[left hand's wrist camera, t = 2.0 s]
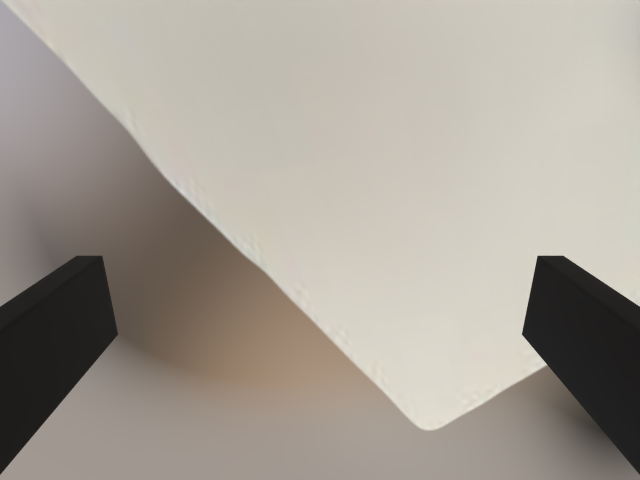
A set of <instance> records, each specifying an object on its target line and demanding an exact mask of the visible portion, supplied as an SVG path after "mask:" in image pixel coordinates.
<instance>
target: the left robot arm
mask: <svg viewBox="0 0 640 480" xmlns="http://www.w3.org/2000/svg"><path fill="white" fill-rule="evenodd" d="M117 335H118V332H117V327H116V322H115V317H114V312H113V307H112V302H111V297H110V292H109V287H108V282H107V277H106V272H105V267H104V262H103V257H102V256H76V257H74V258H73V259H71V260H70V261H68V262H67V263H65V264H64V265H62V266H61V267H59V268H58V269H56V270H55V271H53V272H52V273H50V274H49V275H47V276H46V277H44V278H43V279H41V280H40V281H38V282H37V283H35V284H34V285H32V286H31V287H29V288H28V289H26V290H25V291H23V292H22V293H20V294H19V295H17V296H16V297H14V298H13V299H11V300H10V301H8V302H7V303H5V304H4V305H2V306H1V307H0V474H1V473H2V472H3V471H4V470H5V468H6V467H7V466H8V465H9V463H10V462H11V461H12V460H13V459H14V458H15V456H16V455H17V454H18V453H19V452H20V450H21V449H22V448H23V447H24V446H25V444H26V443H27V442H28V441H29V440H30V438H31V437H32V436H33V435H34V434H35V433H36V431H37V430H38V429H39V428H40V427H41V425H42V424H43V423H44V422H45V421H46V420H47V418H48V417H49V416H50V415H51V414H52V412H53V411H54V410H55V409H56V408H57V406H58V405H59V404H60V403H61V402H62V400H63V399H64V398H65V397H66V396H67V395H68V393H69V392H70V391H71V390H72V388H73V387H74V386H75V385H76V384H77V383H78V381H79V380H80V379H81V378H82V377H83V375H84V374H85V373H86V372H87V371H88V369H89V368H90V367H91V366H92V365H93V364H94V362H95V361H96V360H97V359H98V358H99V356H100V355H101V354H102V353H103V352H104V350H105V349H106V348H107V347H108V346H109V344H110V343H111V342H112V341H113V340H114V339H115V337H116V336H117ZM522 335H523V336H524V337H525V339H526V340H527V341H528V342H529V343H530V345H531V346H532V347H533V348H534V349H535V350H536V352H537V353H538V354H539V355H540V356H541V358H542V359H543V360H544V361H545V362H546V364H547V365H548V366H549V367H550V368H551V370H552V371H553V372H554V373H555V374H556V375H557V377H558V378H559V379H560V380H561V381H562V383H563V384H564V385H565V386H566V387H567V389H568V390H569V391H570V392H571V393H572V395H573V396H574V397H575V398H576V399H577V400H578V402H579V403H580V404H581V405H582V406H583V408H584V409H585V410H586V411H587V412H588V414H589V415H590V416H591V417H592V418H593V420H594V421H595V422H596V423H597V424H598V425H599V427H600V428H601V429H602V430H603V431H604V433H605V434H606V435H607V436H608V437H609V438H610V440H611V441H612V442H613V443H614V445H615V446H616V447H617V448H618V449H619V450H620V452H621V453H622V454H623V455H624V456H625V458H626V459H627V460H628V461H629V462H630V464H631V465H632V466H633V467H634V468H635V470H636V471H637V472H638V473H639V474H640V307H639V306H638V305H636V304H635V303H633V302H632V301H630V300H629V299H627V298H626V297H624V296H623V295H621V294H620V293H618V292H617V291H615V290H614V289H612V288H611V287H609V286H608V285H606V284H605V283H603V282H602V281H600V280H599V279H597V278H596V277H594V276H593V275H591V274H590V273H588V272H587V271H585V270H584V269H582V268H581V267H579V266H578V265H576V264H575V263H573V262H572V261H570V260H569V259H567V258H566V257H564V256H538V257H537V262H536V267H535V272H534V277H533V282H532V287H531V292H530V297H529V302H528V307H527V312H526V317H525V322H524V327H523V332H522Z"/></svg>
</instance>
